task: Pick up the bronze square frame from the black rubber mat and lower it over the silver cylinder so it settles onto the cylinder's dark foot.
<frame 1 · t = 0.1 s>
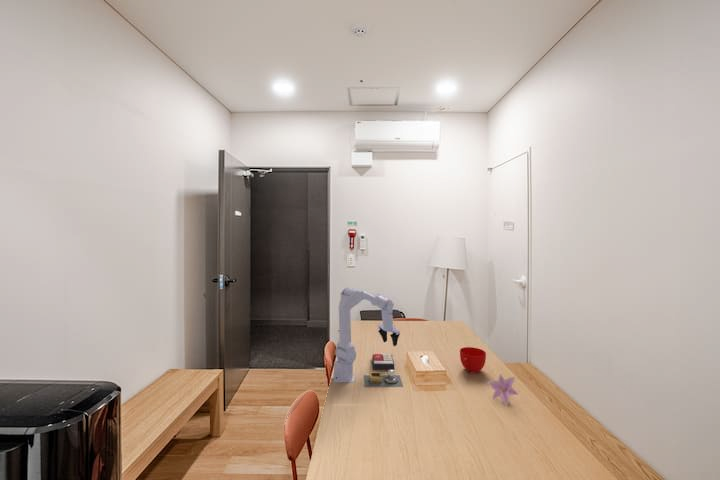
hand: (390, 343, 177), 11 cm above the table, tool pointing down, fingers open, 7 cm apart
ceramic cup: (470, 372, 166), on the table
silver cylinder: (391, 380, 154), resting on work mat
bronze square frame: (375, 380, 154), resting on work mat
lily: (503, 399, 139), on the table
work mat: (382, 381, 154), on the table
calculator: (382, 365, 174), on the table
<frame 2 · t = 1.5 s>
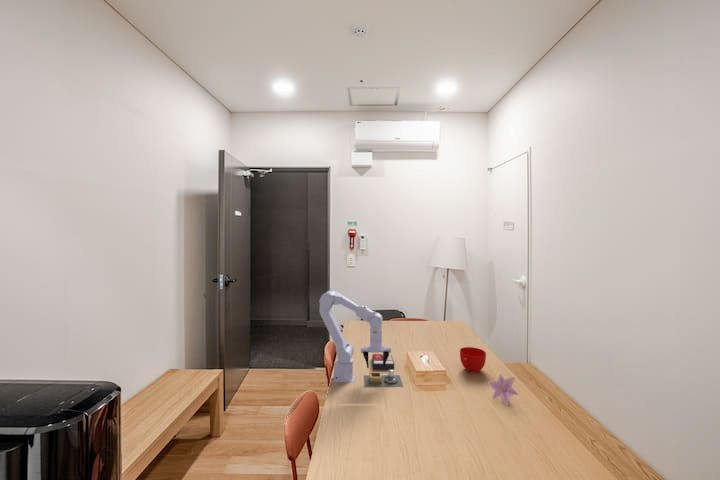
hand: (375, 367, 154), 7 cm above the table, tool pointing down, fingers open, 7 cm apart
nothing on the table moved.
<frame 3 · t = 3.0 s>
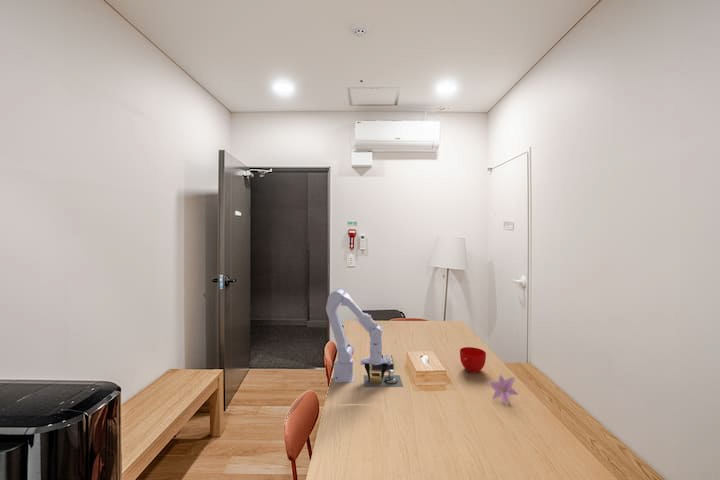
hand: (375, 379, 154), 1 cm above the table, tool pointing down, fingers closed on bronze square frame, 6 cm apart
bronze square frame: (375, 380, 154), resting on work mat, touching gripper
everything else where it was.
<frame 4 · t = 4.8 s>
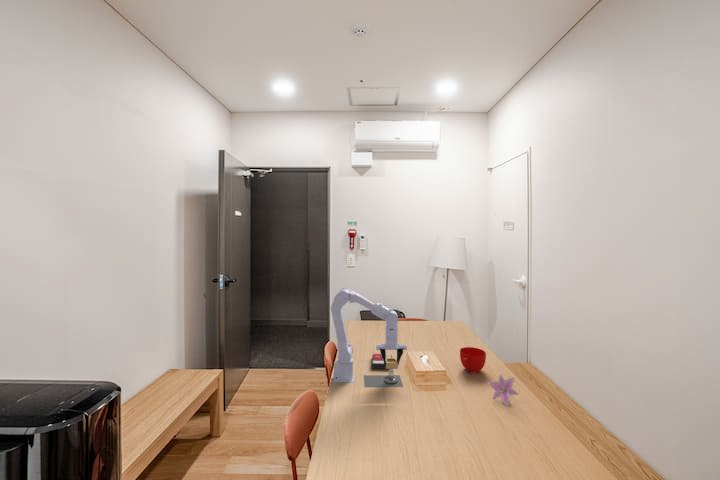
hand: (391, 364, 154), 8 cm above the table, tool pointing down, fingers closed on bronze square frame, 6 cm apart
bronze square frame: (391, 366, 154), point 8 cm above the table, touching gripper
everything else where it was.
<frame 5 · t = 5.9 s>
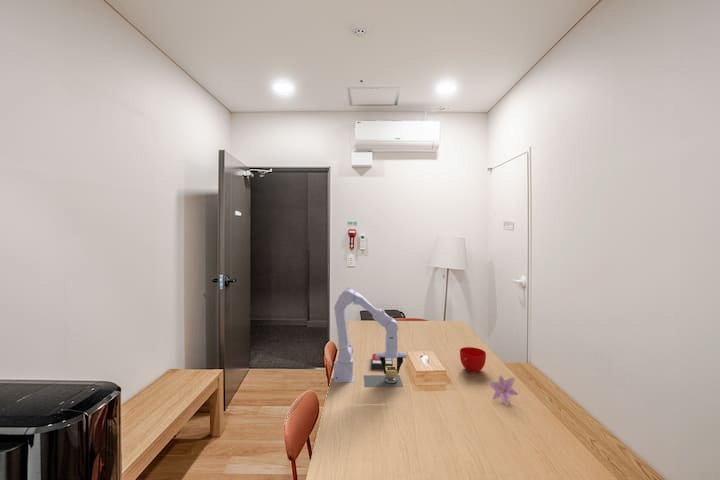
hand: (391, 372, 154), 4 cm above the table, tool pointing down, fingers closed on bronze square frame, 6 cm apart
bronze square frame: (391, 374, 154), point 4 cm above the table, touching gripper
everything else where it was.
when the fingers open (4 cm above the table, at t = 6.7 s): bronze square frame drops 2 cm, resting on silver cylinder.
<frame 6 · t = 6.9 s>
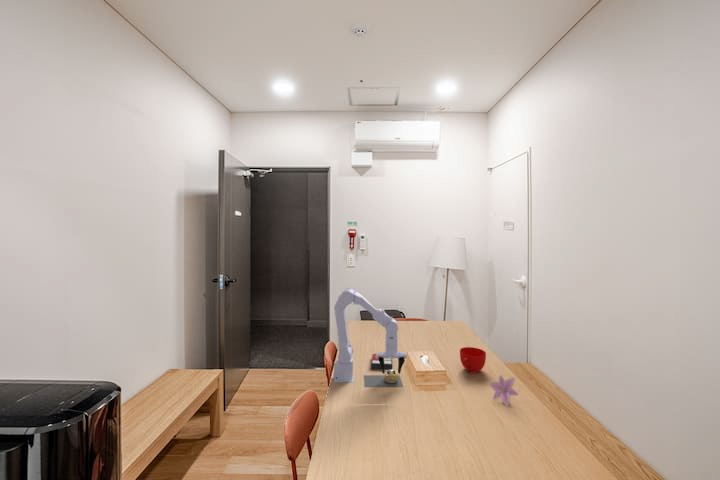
hand: (391, 372, 154), 4 cm above the table, tool pointing down, fingers open, 7 cm apart
bronze square frame: (391, 378, 154), point 1 cm above the table, touching silver cylinder
everything else where it was.
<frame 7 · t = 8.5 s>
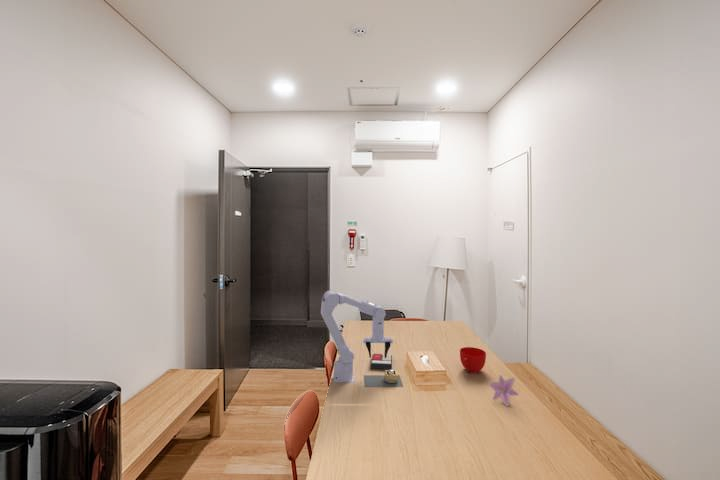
hand: (377, 357, 160), 9 cm above the table, tool pointing down, fingers open, 7 cm apart
nothing on the table moved.
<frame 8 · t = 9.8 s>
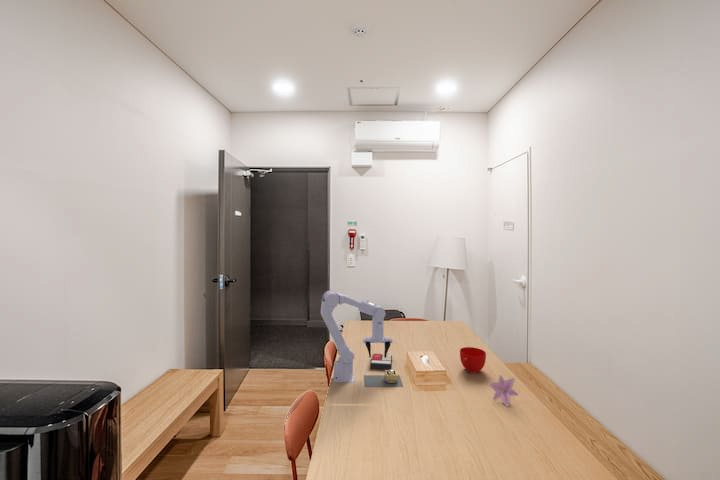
hand: (377, 356, 161), 9 cm above the table, tool pointing down, fingers open, 7 cm apart
nothing on the table moved.
at the end: bronze square frame 0.0 cm off-centre on the silver cylinder, point 1.0 cm above the silver cylinder's base; the gripper is holding nothing; bronze square frame tilted 0° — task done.
